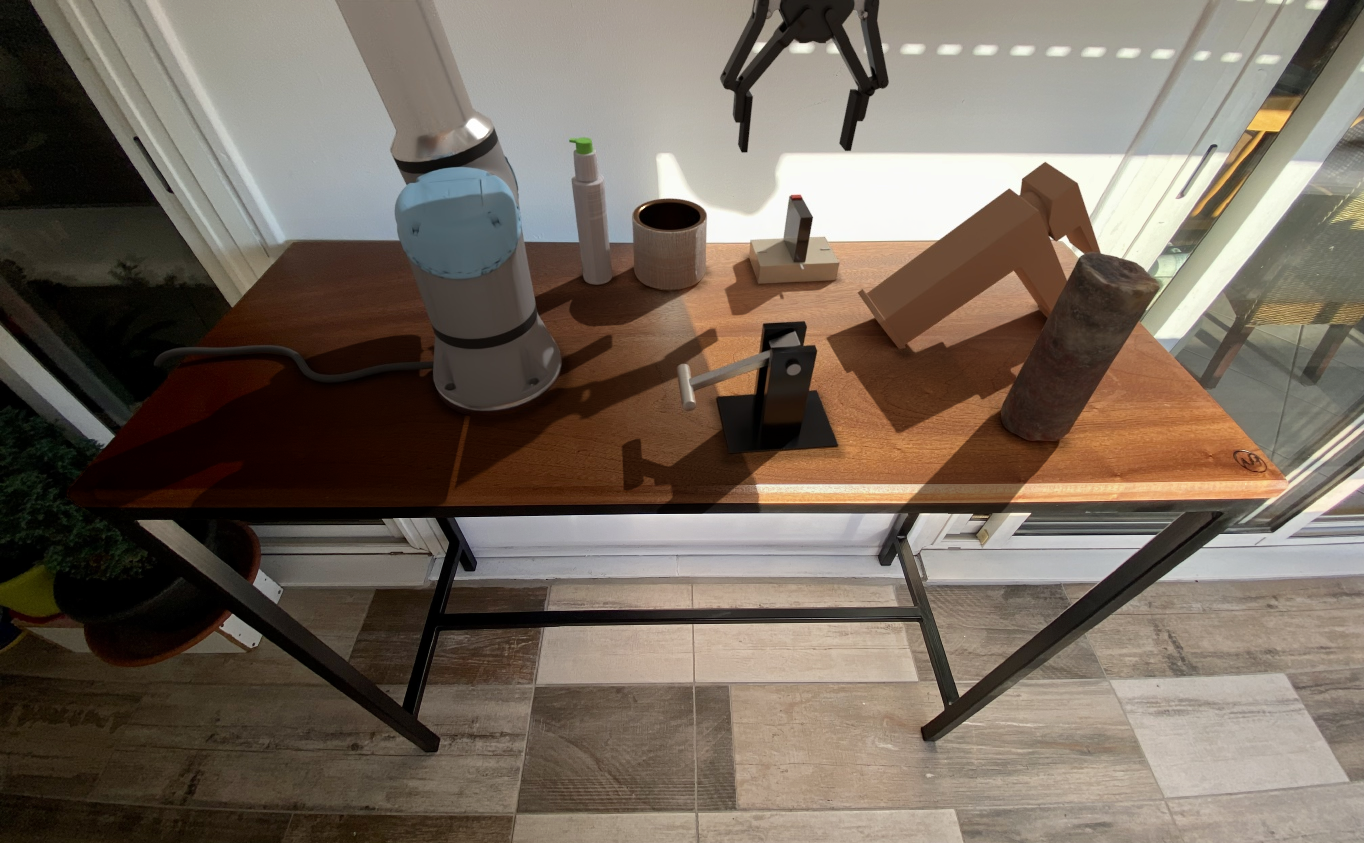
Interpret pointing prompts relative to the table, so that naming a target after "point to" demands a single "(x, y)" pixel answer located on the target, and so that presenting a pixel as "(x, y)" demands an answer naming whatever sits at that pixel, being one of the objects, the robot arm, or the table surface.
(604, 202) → the bottle
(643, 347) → the table surface
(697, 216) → the planter
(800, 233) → the red-tipped grey panel
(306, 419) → the table surface
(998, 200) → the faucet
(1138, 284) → the grey-brown thick cylinder
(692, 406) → the tap lever
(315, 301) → the table surface
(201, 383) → the table surface
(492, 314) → the robot arm
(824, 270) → the beige slotted base block
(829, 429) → the bracket
